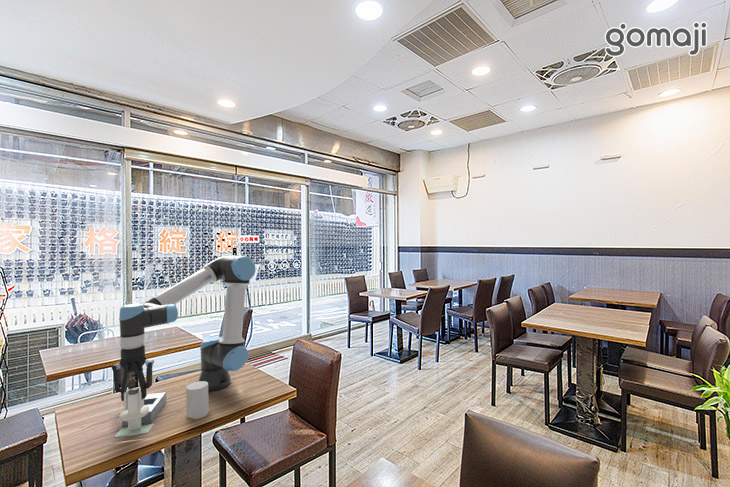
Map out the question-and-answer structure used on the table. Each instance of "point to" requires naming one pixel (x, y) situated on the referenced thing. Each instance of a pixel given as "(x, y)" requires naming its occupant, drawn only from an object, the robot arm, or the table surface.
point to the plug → (133, 410)
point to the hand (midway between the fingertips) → (134, 407)
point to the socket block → (151, 407)
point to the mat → (134, 431)
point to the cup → (197, 399)
